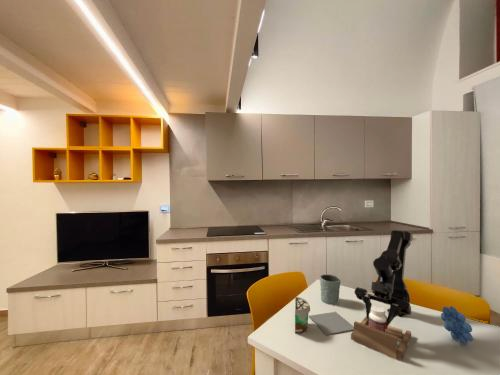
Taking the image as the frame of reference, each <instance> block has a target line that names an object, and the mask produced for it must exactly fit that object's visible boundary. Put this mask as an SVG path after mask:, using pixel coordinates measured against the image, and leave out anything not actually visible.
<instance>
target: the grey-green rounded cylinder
mask: <svg viewBox="0 0 500 375" xmlns="http://www.w3.org/2000/svg"><path fill="white" fill-rule="evenodd" d="M341 281H342V280H341V278H340V277H338V276H337V275H334V274H329V273H327V274H321V275H320V276H319V282H320V283H319V284H320V300H321V302H322V303H324V304H325V305H326V304H327V305H331V306H334V305H337V304H339V300H340V289H341Z"/></svg>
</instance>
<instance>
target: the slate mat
mask: <svg viewBox="0 0 500 375" xmlns="http://www.w3.org/2000/svg"><path fill="white" fill-rule="evenodd" d="M308 319H310V320H311V321H312V322H313V323H314V324H315V325H316V326H317V328H319V329H320V330H321V331H322V332H323V333H324V334H325V336H332V335H337V334H342V333H349V332H353V331H354V324H352V323H350V322H349V321H348V320H347V319H346V318H344V317H342V316H341V314H339V313H338V312H336V311H332V312H325V313H318V314H312V315H308Z"/></svg>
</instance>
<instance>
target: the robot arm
mask: <svg viewBox="0 0 500 375" xmlns="http://www.w3.org/2000/svg"><path fill="white" fill-rule="evenodd" d="M411 242H413V233H411V232H410V230H404V229H403V230H402V229H391V231H390V238H389V242H388V244H387V248H386V250H384V251H382V252H381V254H380V256H378V257H377V258H375V259H373V262H372V264H373V267H374V270H375V272H376V274H377V280H376V281H371V289H370V290H371V292H372V293H373V294H372V293H369V292H368V290H367V289H365V288H362V287H356V288H354V294H355V296H356V298H357V299H358V300H360V301H363V303H364V307H365V314H366V316H367V319H369V313H370V312H371V307H372V306H373V305H372V304H373V303H372V302H371V300H372V301H376V302H379V303H383V304H386V305H389V308H388V309H386V311H387V312H388V315H387V316H386V317H387V321H386V326H388V325H389V326H390V324H391V322H393V320H394V319H395V318H396V317H397V316H398V317H401V318H402V317H404V316H406V315H410V316H411V314H412V306H411V303H410V302H411V297H410V293H409V290H408V289H407V287H408V286H407V284H406V283H405V280H404V278H405V277H404V274H405V267H406V266H405V265H406V253H407V249H408V248H409V247H410V246H411V244H412V243H411Z"/></svg>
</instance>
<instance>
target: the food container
mask: <svg viewBox="0 0 500 375" xmlns="http://www.w3.org/2000/svg"><path fill="white" fill-rule="evenodd" d="M294 300H295V303H294V304H295V306H294V307H295V308H294V333H295V334H299V335H301V334H304V333H306V332H307V331H308V327H309V326H308V325H309V313H310V312H311V306H310V303H309V301H308V300H306V299H304V298H302V297H299V296H298V297H297V296H295V298H294Z"/></svg>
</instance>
